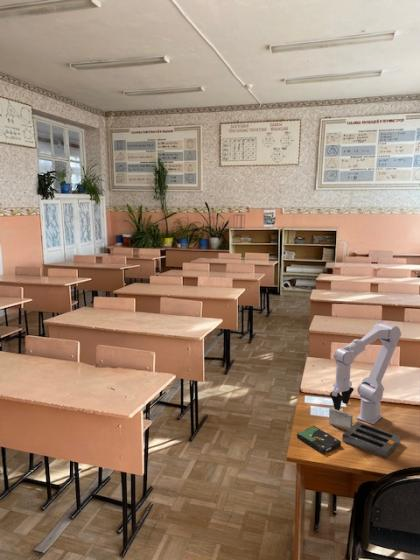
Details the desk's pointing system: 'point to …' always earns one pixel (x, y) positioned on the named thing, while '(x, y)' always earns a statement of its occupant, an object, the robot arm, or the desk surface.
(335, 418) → the steel panel
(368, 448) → the rack block
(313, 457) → the desk surface
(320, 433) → the disk drive
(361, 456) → the desk surface
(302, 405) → the desk surface
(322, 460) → the desk surface
